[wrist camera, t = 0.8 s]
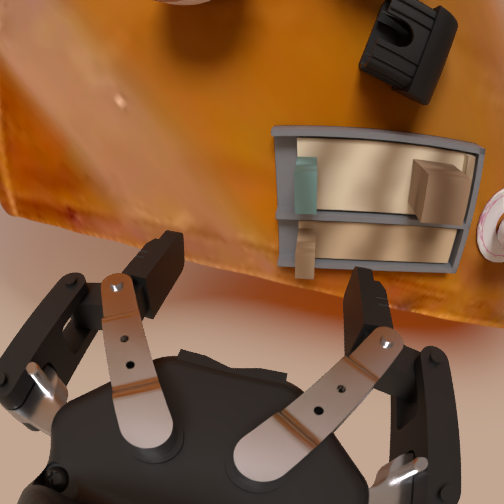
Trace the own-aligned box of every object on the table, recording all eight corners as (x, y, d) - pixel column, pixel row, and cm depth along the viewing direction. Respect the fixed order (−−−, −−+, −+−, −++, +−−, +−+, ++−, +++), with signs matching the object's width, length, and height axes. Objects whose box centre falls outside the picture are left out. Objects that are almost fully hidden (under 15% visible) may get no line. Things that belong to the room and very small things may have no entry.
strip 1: (467, 152, 25) (495, 170, 20) (456, 214, 29) (478, 242, 24) (297, 136, 29) (293, 150, 24) (298, 204, 34) (295, 232, 28)
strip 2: (454, 225, 30) (474, 254, 25) (445, 258, 33) (461, 290, 28) (298, 216, 34) (295, 246, 29) (298, 252, 37) (294, 285, 32)
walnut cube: (452, 164, 26) (471, 179, 22) (445, 205, 28) (461, 225, 24) (413, 158, 27) (428, 173, 23) (407, 201, 29) (420, 222, 25)
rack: (475, 143, 25) (485, 149, 23) (449, 262, 34) (455, 273, 32) (274, 125, 30) (271, 129, 28) (280, 255, 39) (277, 266, 37)
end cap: (413, 102, 25) (437, 109, 19) (355, 72, 25) (366, 70, 19) (441, 31, 19) (469, 23, 14) (383, -2, 19) (399, -19, 14)
